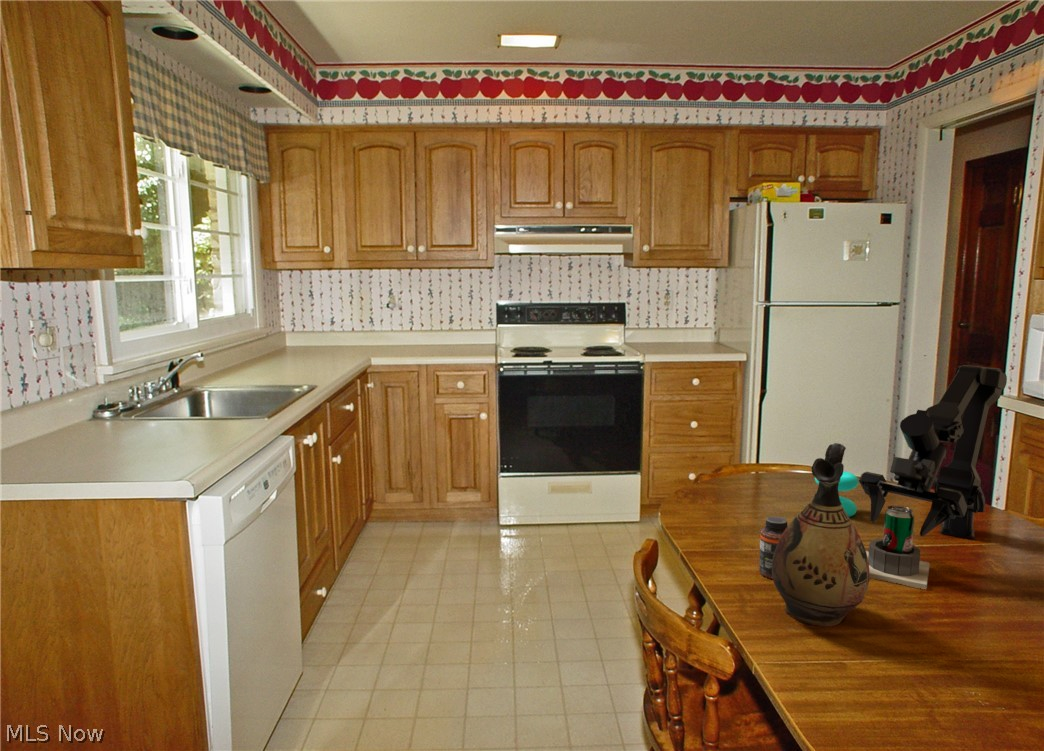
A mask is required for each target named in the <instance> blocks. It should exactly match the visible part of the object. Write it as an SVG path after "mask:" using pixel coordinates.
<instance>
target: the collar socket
mask: <svg viewBox="0 0 1044 751" xmlns="http://www.w3.org/2000/svg"><path fill="white" fill-rule="evenodd" d="M882 548H883V538H877V539H876V538H875V539H873V540H870V541H869V545H868V550H866V553H867V558H868V561H869V573H870V579H872V578H873V579H874V580H877V581H881V580H882V582H886V581H888V582H887V583H891V582H892V583H891V584H896V583H898V584H897V585H900V584H902V585H901V586H905V585H906V587H910V588H916V589H920V588H921V590H924V589H925V590H924V591H926V590H927V589H928V580H929V572H930V562H929V561H923V560H921V549H920V548H918V547H917V546H916V545H913V544H912V553H911V554H896V553H890V552H886V551H884V550H882Z"/></svg>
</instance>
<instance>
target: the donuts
mask: <svg viewBox="0 0 1044 751" xmlns="http://www.w3.org/2000/svg"><path fill="white" fill-rule="evenodd" d="M814 482H815V483H816V484H817V485H818V486H819V481H818V480H817V479H816V478H815V477H814ZM859 484H860V482H859V478H858V476H856V475H855V474H854V473H852V472H848V471H845V470H843V475H842V476H841V478H840V482H839V485H838V492H848V491H851V490H855V489H856V488H857V487H858V486H859ZM839 499H840V502H841V503H842V507H843V508H844V510H845V512H846V513H847V515H848V516H849V518H850V517H853V516H854V515H856V513H857V511H858V506H857V505H856V503H854V502H853V501H852V500H851V499H850V498H847V497H845V496H840V495H839Z"/></svg>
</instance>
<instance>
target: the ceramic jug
mask: <svg viewBox="0 0 1044 751" xmlns="http://www.w3.org/2000/svg"><path fill="white" fill-rule="evenodd" d="M845 451H846V447H845V446H844V444H841V443H839V442H838V443H837V442H835V443H833V444H829V445H828V447H827V448H826V451H825V454H824V456H825V458H820V457H819V458H815V460H814V461H813V464H812V466H811V473H812V476H813V477H814V479H815V478H816V479H817V480H818V481H819V485H818V487H817V491H816V493H815V494H814V497H813V499H812V500H811V501H810V502H809V503H808V504H807V505H806V506H804V507H803V508H802V510H801V511H800V512H798V513H797V515H796V516H795V517H794V518H793V519H792V520H791V521H790V523H789V524H787V526H788V527H787V528H786V529H785V531H784V532H783V534H782V535H781V537H780V539H779V541H778V543H777V546H776V549H775V552H774V555H773V559H772V576H773V579H772V580H773V584H774V586H775V588H776V591H777V592H778V593H779V595H780V597H781V598H782V599H783V601H784V603H785V609H784V611H785V613H786V614H787V615H789V616H791V617H792V618H794V619H795V620H796V621H798V622H800V623H802V624H806V625H808V626H811V625H812V626H813V625H816V626H818V627H834V626H836V625H839V624H840V623H841V622H842V621H843V619H844V618H845V617H846V616H847V615H848V614H849V613H850V612H852V611H853V610H854V609H855V608H857V606H859V605H860V604H861V603H862V602H863V601H864V599H865V597H866V596H865V595H866V593H867V591H868V589H869V584H870V579H871V578H870V573H869V561H868V558H867V553H866V551H867V550H866V548H865V545H864V543H863V539H861V536H860V535H859V532H858V531H857V528H856V527H855V525H854V522H853V521H852V520H851V518H850V517H849V516H848V515H847V513H846V512H845V510H844V508H843V507H842V503H841V502H840V499H839V496H840V494H839V491H838V485H839V482H840V478H841V476H842V475H843V471H845V470H844V468H845V467H844V466H845V465H844V464H843V459H844V455H845Z"/></svg>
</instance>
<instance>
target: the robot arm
mask: <svg viewBox="0 0 1044 751" xmlns="http://www.w3.org/2000/svg"><path fill="white" fill-rule="evenodd" d="M954 374H955V375H954V377H953V378H952V380H951V382H950V384H949V385H948V387H947V388H946V390H945V392H944V394H943V395H942V397H941V398H940V399H939V402H938V403H936V404H933V405H932V406H929V407H927V408H926V409H925V410H924V409H917V410H916V413H913V414H909V415H907V416H906V417H904V418H903V419H902V420H901V421H900V422H899V423H900V424H899V427H900V430H901V433H902V435H903V438H904V440H905V442H906V444H907V447H908V448H910V450H911V452H910V454H909V456H908V458H904V457H898V456H893V458H892V463H891V467H890V471H889V472H890V474H894V476H893V478H894V481H896V482H897V483H892V482H887V480H886V478H885V476H884V475H883V474H881V473H876V472H875V473H874V472H870V471H865V472H862V473H861V475H860V477H859V478H858V480H859V484H860V485H861V487H862V489H863V491H864V494H865V495H867V496H868V497H869V498H870V522H871V524H875V523H876V521H877V520H878V518H879V516H880V515H881V513H882V509H883V508H884V506H885V503H886V502H887V501H886V499H885V498H886V497H888V494H889V493H890V494H894V495H898V496H903V497H908V498H912V499H916V500H917V499H918V500H921V501H924V502H929V503H931V505H930V509H929V512H928V513H927V515H926V517H925V519H924V521H923V524H922V525H921V528H920V531H919V536H920V537H925V536H926V535H927V534H928V533H930V532H931V531H932V530H934V529H935V528H936V527H937V526H939V525H940V534H943V535H949V536H956V537H961V538H966V539H975V528H974V527H973V526H974V516H975V515H974V514H977V513H985V509H986V508H985V507H986V497H985V494H984V492H983V489H982V487H981V484H982V480H981V478H980V475H979V473H978V471H977V469H976V467H977V463H978V462H977V461H978V458H979V454H980V453H979V452H980V448H981V445H982V439H983V435H984V431H985V427H986V423H987V418H988V414H989V409H990V407H991V406H992V405H993V404H994V403H996V402H997V401H998V400H999V399H1000V398H1001V396H1002V393H1003V390H1004V389H1006V386H1007V384H1008V382H1007V381H1008V378H1007V377H1008V376H1007V374H1006V373H1004V372H1003V371H1002V369H1001V368H1000V367H999V368H997V367H985V366H978V365H965V364H963V365H958V366H957V367H956V369H955V373H954ZM943 443H948V444H954V443H955V446H954V450H953V454H952V458H951V461H950V462H949V463H948V464H947V465H943V466H942V463H943V461H946V459H947V455H946V454H947V449H946V447H945V444H943ZM941 466H942V467H941ZM938 473H939V476H938V477H937V475H938ZM933 485H934V489H933V490H934V491H931V489H932V487H933Z"/></svg>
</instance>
